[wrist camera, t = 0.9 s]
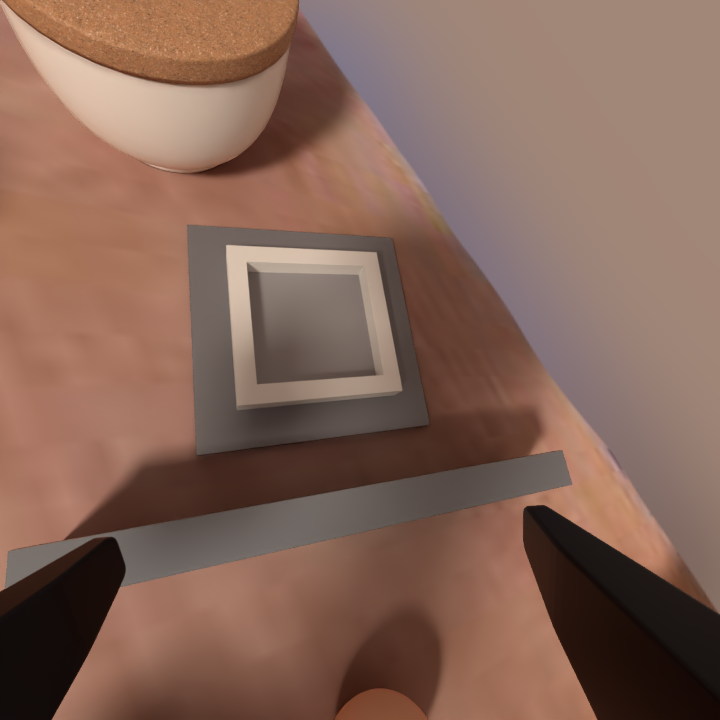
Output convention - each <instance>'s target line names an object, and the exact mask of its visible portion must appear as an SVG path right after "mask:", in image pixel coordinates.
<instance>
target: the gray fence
mask: <svg viewBox="0 0 720 720" xmlns="http://www.w3.org/2000/svg"><path fill="white" fill-rule="evenodd" d="M568 485H572V482H571V478H570V475H569V471H568V468H567V465H566V461H565V458H564V454H563V451H562V450H559V451H552V452H546V453H541V454H535V455H530V456H524V457H519V458H513V459H508V460H502V461H497V462H491V463H486V464H480V465H475V466H469V467H464V468H458V469H453V470H447V471H442V472H436V473H431V474H425V475H420V476H414V477H409V478H403V479H398V480H392V481H387V482H381V483H376V484H370V485H365V486H359V487H354V488H348V489H343V490H337V491H332V492H326V493H320V494H315V495H309V496H304V497H298V498H293V499H287V500H282V501H276V502H271V503H265V504H260V505H254V506H249V507H243V508H238V509H232V510H227V511H221V512H216V513H210V514H205V515H199V516H194V517H188V518H183V519H177V520H172V521H166V522H161V523H155V524H150V525H144V526H139V527H133V528H128V529H122V530H117V531H111V532H106V533H100V534H95V535H89V536H84V537H78V538H73V539H67V540H62V541H56V542H51V543H45V544H40V545H34V546H29V547H23V548H18V549H14V550H11V551H8V558H7V570H6V582H5V589H6V588H8V587H9V586H11V585H13V584H15V583H16V582H18V581H20V580H22V579H23V578H25V577H27V576H29V575H30V574H32V573H34V572H36V571H37V570H39V569H41V568H42V567H44V566H46V565H48V564H49V563H51V562H53V561H55V560H56V559H58V558H60V557H62V556H63V555H65V554H67V553H69V552H70V551H72V550H74V549H76V548H77V547H79V546H81V545H83V544H84V543H86V542H88V541H89V540H91V539H93V538H98V537H114V538H115V539H116V540H117V542H118V544H119V547H120V550H121V553H122V556H123V559H124V562H125V565H126V573H125V577H124V579H123V581H122V584H121V586H120V587H123V586H127V585H132V584H136V583H141V582H145V581H149V580H154V579H158V578H163V577H167V576H171V575H176V574H180V573H185V572H189V571H193V570H198V569H202V568H207V567H211V566H215V565H220V564H224V563H229V562H233V561H237V560H242V559H246V558H251V557H255V556H259V555H264V554H268V553H273V552H277V551H281V550H286V549H290V548H295V547H299V546H304V545H308V544H312V543H317V542H321V541H326V540H330V539H334V538H339V537H343V536H348V535H352V534H356V533H361V532H365V531H370V530H374V529H378V528H383V527H387V526H392V525H396V524H400V523H405V522H409V521H414V520H418V519H422V518H427V517H431V516H436V515H440V514H444V513H449V512H453V511H458V510H462V509H467V508H471V507H475V506H480V505H484V504H489V503H493V502H497V501H502V500H506V499H511V498H515V497H519V496H524V495H528V494H533V493H537V492H541V491H546V490H550V489H555V488H559V487H563V486H568Z"/></svg>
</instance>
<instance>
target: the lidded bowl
mask: <svg viewBox="0 0 720 720" xmlns="http://www.w3.org/2000/svg"><path fill="white" fill-rule="evenodd" d="M0 4H1V6H2V8H3V10H4V13H5V15H6V17H7V19H8V21H9V23H10V25H11V27H12V29H13V31H14V33H15V35H16V36H17V38H18V40H19V42H20V44H21V46H22V47H23V49H24V50H25V52H26V54H27V55H28V57H29V59H30V60H31V62H32V64H33V65H34V67H35V68H36V70H37V71H38V72H39V74H40V75H41V77H42V78H43V79H44V81H45V82H46V84H47V85H48V86H49V88H50V89H51V90H52V92H53V93H54V94H55V96H56V97H57V99H58V100H59V101H60V102H61V103H62V104H63V105H64V106H65V107H66V109H67V110H68V111H69V112H70V113H71V114H72V115H73V116H74V117H75V118H76V119H77V120H78V121H79V122H80V123H81V124H82V125H83V126H84V127H85V128H87V129H88V130H89V131H90V132H92V133H93V134H94V135H96V136H97V137H98V138H100V139H101V140H102V141H104V142H105V143H107V144H108V145H110V146H111V147H113V148H115V149H116V150H118V151H120V152H122V153H123V154H126V155H128V156H130V157H133V158H135V159H137V160H139V161H141V162H143V163H145V164H147V165H149V166H151V167H154V168H157V169H160V170H163V171H168V172H174V173H196V172H202V171H206V170H209V169H212V168H214V167H216V166H217V165H219V164H222V163H225V162H227V161H229V160H231V159H233V158H235V157H237V156H238V155H239V154H241V153H242V152H243V151H245V150H246V149H247V148H248V147H250V146H251V145H252V144H253V143H254V141H255V140H256V139H257V138H258V137H259V135H260V134H261V133H262V131H263V130H264V128H265V127H266V125H267V123H268V121H269V119H270V117H271V115H272V113H273V110H274V108H275V106H276V104H277V100H278V97H279V94H280V90H281V87H282V83H283V79H284V76H285V71H286V66H287V61H288V56H289V49H290V44H291V42H292V39H293V35H294V31H295V27H296V23H297V17H298V10H299V0H0Z"/></svg>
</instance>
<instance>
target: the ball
mask: <svg viewBox="0 0 720 720" xmlns="http://www.w3.org/2000/svg"><path fill="white" fill-rule="evenodd" d="M334 720H428V718H427V717H426V716H425V714H424V713H423V712H422V710H421V709H420V708H419V707H418V706H417V705H416V704H415V703H414V702H413V701H412V700H410V699H409V698H408V697H406V696H405V695H403V694H401V693H399V692H396V691H394V690H390V689H382V688H377V689H370V690H367V691H364V692H362V693H360V694H358V695H356V696H355V697H353V698H352V699H351V700H349V701H348V702H347V703H346V704H345V705H344V706H343V707H342V709H341V710H340V711H339V713H338V714H337V716H336V717H335V719H334Z"/></svg>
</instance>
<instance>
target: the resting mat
mask: <svg viewBox="0 0 720 720" xmlns="http://www.w3.org/2000/svg"><path fill="white" fill-rule="evenodd" d="M187 234H188V258H189V283H190V308H191V333H192V358H193V383H194V407H195V432H196V455H197V456H199V455H207V454H214V453H222V452H229V451H237V450H245V449H252V448H260V447H268V446H275V445H283V444H291V443H298V442H306V441H314V440H321V439H329V438H337V437H344V436H352V435H359V434H367V433H375V432H382V431H390V430H398V429H405V428H413V427H421V426H428V425H430V422H429V417H428V412H427V407H426V402H425V397H424V393H423V388H422V383H421V378H420V373H419V368H418V363H417V358H416V353H415V348H414V343H413V338H412V334H411V329H410V324H409V319H408V314H407V309H406V304H405V299H404V294H403V289H402V284H401V279H400V274H399V270H398V265H397V260H396V255H395V250H394V245H393V240H392V238H386V237H370V236H354V235H339V234H323V233H307V232H292V231H276V230H261V229H245V228H229V227H214V226H198V225H187Z"/></svg>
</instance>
